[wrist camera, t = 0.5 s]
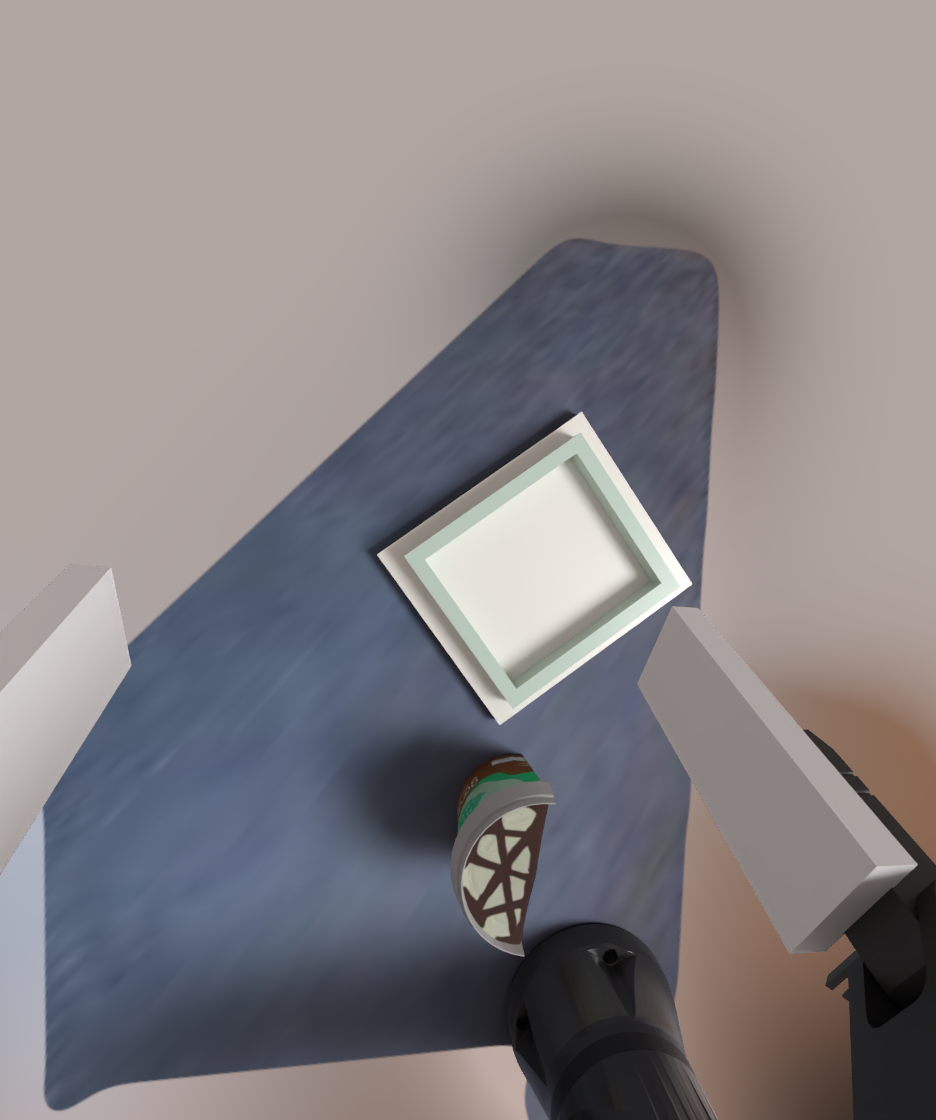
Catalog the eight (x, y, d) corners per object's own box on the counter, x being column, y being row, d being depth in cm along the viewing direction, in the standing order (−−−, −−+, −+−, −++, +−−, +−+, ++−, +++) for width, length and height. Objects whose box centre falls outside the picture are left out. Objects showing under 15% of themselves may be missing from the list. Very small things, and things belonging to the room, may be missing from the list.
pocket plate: (685, 582, 47) (705, 586, 43) (497, 720, 45) (503, 734, 42) (577, 415, 45) (589, 406, 41) (377, 553, 43) (375, 555, 40)
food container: (457, 728, 45) (471, 784, 35) (525, 738, 46) (556, 795, 36) (431, 863, 46) (437, 955, 36) (498, 870, 46) (522, 963, 36)
